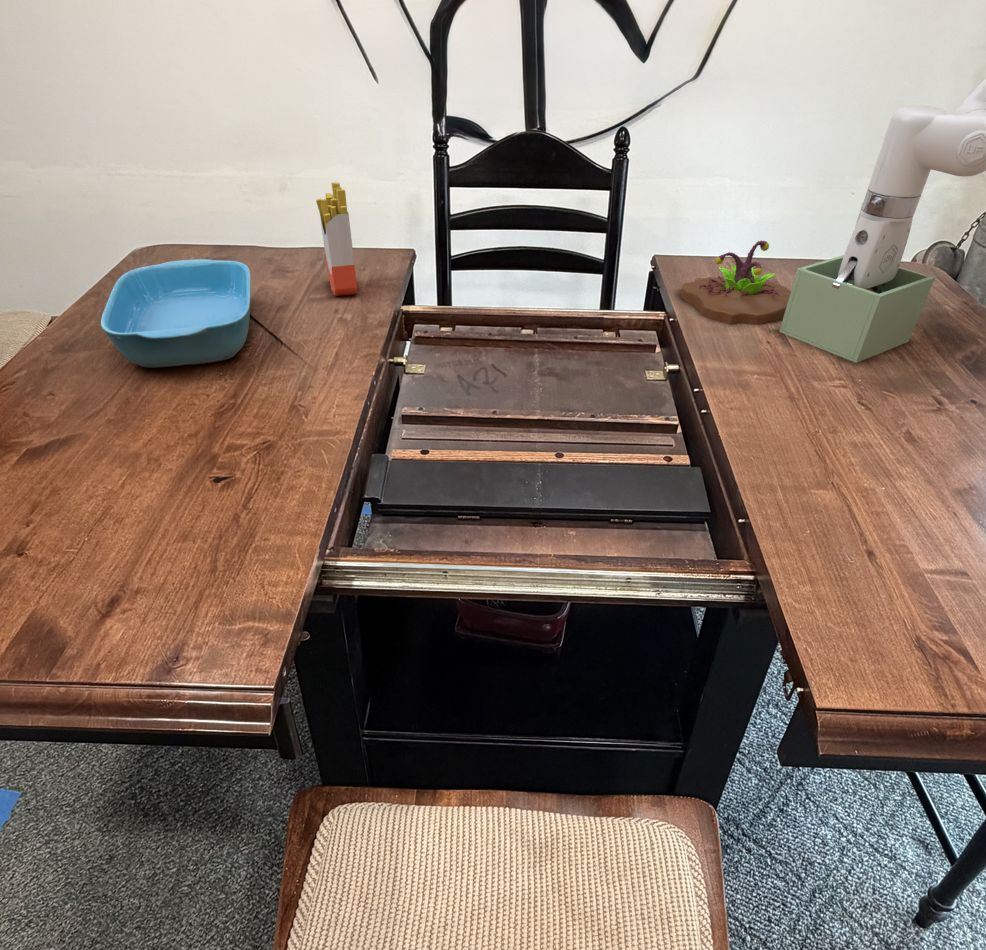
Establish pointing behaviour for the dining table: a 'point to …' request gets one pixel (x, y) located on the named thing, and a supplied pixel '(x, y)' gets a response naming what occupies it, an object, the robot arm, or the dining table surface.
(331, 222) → the french fries container
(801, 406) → the dining table surface
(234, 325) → the casserole dish
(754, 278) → the plant
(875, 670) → the dining table surface
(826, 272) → the bin
